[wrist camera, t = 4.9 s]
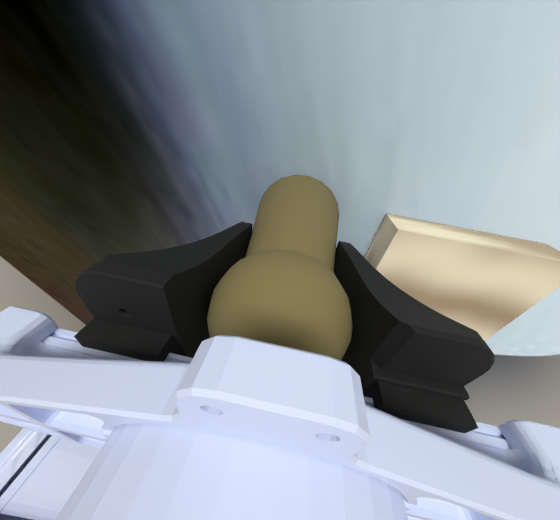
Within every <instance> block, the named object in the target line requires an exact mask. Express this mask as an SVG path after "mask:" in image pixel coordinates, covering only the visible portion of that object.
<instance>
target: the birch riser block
mask: <svg viewBox="0 0 560 520" xmlns="http://www.w3.org/2000/svg"><path fill="white" fill-rule="evenodd" d="M365 259H366V260H367V261H368V262H369V263H370V264H371V265H372V266H373V267H374V268H375V269H376V270H377V271H378V272H379V273H381V274H382V275H383V276H384V277H385V278H386V279H388V280H389V281H390V282H392V283H393V284H394V285H395V286H397V287H398V288H399V289H401V290H402V291H404V292H405V293H407V294H408V295H410V296H411V297H413V298H414V299H416V300H418V301H419V302H421V303H423V304H424V305H426V306H428V307H429V308H431V309H433V310H435V311H437V312H439V313H440V314H442V315H444V316H446V317H448V318H450V319H452V320H454V321H456V322H458V323H461V324H463V325H465V326H467V327H469V328H471V329H473V330H475V331H477V332H478V333H479V335H480V336H481V337H482V339H483V340H484V341H485V340H486V339H488V338H489V337H491V336H492V335H493V334H495V333H496V332H497V331H499V330H500V329H502V328H503V327H504V326H506V325H507V324H508V323H510V322H511V321H513V320H514V319H515V318H517V317H518V316H519V315H521V314H522V313H524V312H525V311H526V310H528V309H529V308H530V307H532V306H533V305H535V304H536V303H537V302H539V301H540V300H541V299H543V298H544V297H546V296H547V295H548V294H550V293H551V292H552V291H554V290H555V289H557V288H558V287H559V286H560V251H558V250H556V249H554V248H552V247H551V246H549V245H547V244H542V243H537V242H532V241H526V240H521V239H516V238H511V237H506V236H500V235H495V234H490V233H485V232H479V231H474V230H469V229H464V228H459V227H453V226H448V225H443V224H438V223H432V222H427V221H422V220H417V219H412V218H406V217H401V216H396V215H391V214H386V215H385V217H384V219H383V221H382V223H381V225H380V227H379V229H378V231H377V233H376V235H375V237H374V240H373V242H372V244H371V246H370V248H369V250H368V252H367V254H366V256H365Z"/></svg>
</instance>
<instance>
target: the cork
mask: <svg viewBox="0 0 560 520" xmlns="http://www.w3.org/2000/svg"><path fill="white" fill-rule="evenodd" d="M338 220H339V212H338V203H337V201H336V199H335V197H334V195H333V193H332V191H331V190H330V189H329V188H328V187H327V186H325V185H324V184H323V183H322V182H321V181H318V180H316V179H314V178H312V177H309V176H299V175H293V176H289V177H285V178H281V179H280V180H278V181H277V182H275V183H274V184H272V185H271V186H270V187H269V188H268V189H267V191H266V192H265V193H264V195H263V196H262V199H261V202H260V205H259V208H258V212H257V216H256V220H255V223H254V227H253V231H252V235H251V238H250V242H249V246H248V249H247V253H246V257H245V258H243V259H241V260H239V261H238V262H237V263H236V264H234V265H233V266H232V267H231V268H230V269H229V270H228V271H227V272H226V274H225V275H224V276H223V277H222V278H221V279H220V281H219V282H218V284H217V286H216V287H215V289H214V290H213V294H212V298H211V302H210V306H209V311H208V315H207V323H208V330H209V335H210V338H212V337H214V336H217V335H229V336H240V337H244V338H249V339H253V340H258V341H262V342H267V343H272V344H276V345H281V346H285V347H290V348H294V349H299V350H304V351H308V352H313V353H317V354H322V355H326V356H330V357H333V358H335V359H338V360H340V361H341V359H342V358H343V356H344V354H345V352H346V350H347V348H348V346H349V343H350V341H351V335H352V327H353V326H352V316H351V308H350V304H349V299H348V296H347V294H346V293H345V291H344V289H343V287H342V286H341V284H340V282H339V281H338V279H337V277H336V276H335V274H334V262H335V252H336V241H337V231H338Z"/></svg>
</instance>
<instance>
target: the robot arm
mask: <svg viewBox="0 0 560 520" xmlns="http://www.w3.org/2000/svg"><path fill="white" fill-rule="evenodd" d="M251 235H252V224H250V223H245V222H241V223H238V224H236V225H234V226H232V227H230V228H228V229H226V230H224V231H222V232H220V233H217V234H215V235H212V236H210V237H207V238H205V239H202V240H199V241H196V242H193V243H189V244H186V245H181V246H177V247H172V248H168V249H162V250H156V251H148V252H139V253H126V254H109V255H107V256H105V257H104V258H102V259H101V260H99V261H98V262H96V263H95V264H93V265H92V266H90V267H89V268H87V269H86V270H84V271H83V272H81V273H80V274H78V275H77V277H76V279H75V286H76V290H77V292H78V294H79V296H80V298H81V299H82V301H83V302H84V304H85V305H86V307H87V308H88V309H89V311H90V312H91V314H92V315H93V317H94V319H93V320H92V321H90V322H89V323H88V324H87V325H86V326H85V327H84V328H83V329H82V330H80V331H79V332H75V331H70V330H66V329H62V328H58V327H57V324H56V323H55V322H54V320H53V319H52V318H50V317H49V316H48V315H46V314H44V313H41V312H38V311H34V310H29V309H25V308H20V307H16V306H10V307H8V308H6V309H5V310H3V311H2V312H0V421H1V422H5V423H9V424H12V425H16V426H20V427H23V429H22V430H21V431H20V433H19V434H18V435H17V436H16V437H15V438H14V439H13V440H12V441H11V442H10V443H9V445H8V446H7V447H6V448H5V449H4V450H3V451H2V452H1V453H0V520H560V428H558V427H555V426H550V425H546V424H541V423H537V422H532V421H528V420H512V421H508V422H505V423H503V424H501V425H500V426H499V427H497V426H493V425H489V424H484V423H480V422H475V420H474V419H473V416H472V415H471V413H470V411H469V409H468V407H467V405H466V403H465V401H464V400H467V399H469V395H468V393H467V391H466V389H465V388H464V386H465V385H466V384H468V383H470V382H471V381H473V380H474V379H476V378H478V377H479V376H481V375H483V374H484V373H485V372H487V371H488V370H489V369H490V368H491V366H492V365H493V363H494V354H493V352H492V351H491V349H490V348H489V347H488V345H487V344H486V343H485V341H484V340H483V339H482V337H481V336H480V335H479V333H478V332H477V331H475V330H473V329H471V328H469V327H467V326H465V325H463V324H461V323H458V322H456V321H454V320H452V319H450V318H448V317H446V316H444V315H442V314H440V313H439V312H437V311H435V310H433V309H431V308H429V307H428V306H426V305H424V304H423V303H421V302H419V301H418V300H416V299H414V298H413V297H411V296H410V295H408V294H407V293H405V292H404V291H402V290H401V289H399V288H398V287H397V286H395V285H394V284H393V283H392V282H390V281H389V280H388V279H386V278H385V277H384V276H383V275H382V274H381V273H379V272H378V271H377V270H376V269H375V268H374V267H373V266H372V265H371V264H370V263H369V262H368V261H367V260H366V259H365V258H364V257H363V256H362V255H361V254H360V253H359V252H358V251H357V250H356V249H355V248H354V247H353V246H352V245H351V244H350V243H346V242H341V241H339V242H338V245H337V248H336V252H335V262H334V274H335V276H336V277H337V279H338V281H339V282H340V284H341V286H342V287H343V289H344V291H345V293H346V294H347V296H348V299H349V304H350V308H351V316H352V326H353V327H352V335H351V341H350V343H349V346H348V348H347V350H346V352H345V354H344V356H343V358H342V359H341V361H340V360H338V359H335V358H333V357H330V356H326V355H322V354H317V353H313V352H308V351H304V350H299V349H294V348H290V347H285V346H281V345H276V344H272V343H267V342H262V341H258V340H253V339H249V338H244V337H240V336H229V335H217V336H214V337H212V338H210V335H209V330H208V323H207V315H208V311H209V306H210V302H211V298H212V294H213V290H214V289H215V287H216V286H217V284H218V282H219V281H220V279H221V278H222V277H223V276H224V275H225V274H226V272H227V271H228V270H229V269H230V268H231V267H232V266H233V265H234V264H236V263H237V262H238V261H239V260H241V259H243V258H245V257H246V253H247V249H248V246H249V242H250V238H251Z"/></svg>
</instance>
